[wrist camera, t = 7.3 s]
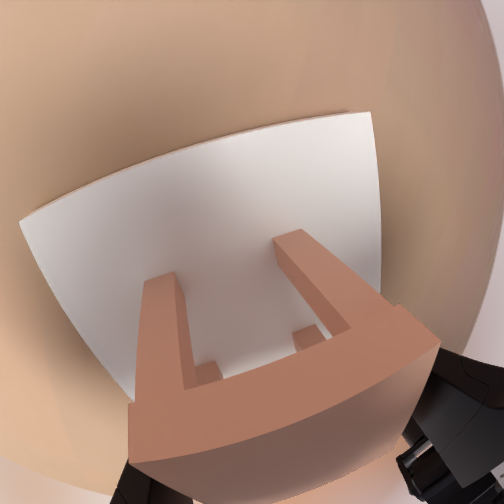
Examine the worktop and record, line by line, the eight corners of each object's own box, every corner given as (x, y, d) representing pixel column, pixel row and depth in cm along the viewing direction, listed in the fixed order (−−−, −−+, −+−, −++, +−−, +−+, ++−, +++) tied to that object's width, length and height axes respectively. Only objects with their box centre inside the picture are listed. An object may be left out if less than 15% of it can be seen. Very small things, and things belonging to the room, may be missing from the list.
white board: (362, 340, 17) (374, 354, 16) (162, 413, 15) (163, 432, 14) (349, 112, 11) (370, 111, 9) (34, 210, 9) (18, 221, 7)
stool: (303, 225, 11) (441, 341, 4) (318, 340, 14) (393, 449, 7) (140, 279, 10) (128, 463, 4) (198, 384, 13) (230, 514, 6)
